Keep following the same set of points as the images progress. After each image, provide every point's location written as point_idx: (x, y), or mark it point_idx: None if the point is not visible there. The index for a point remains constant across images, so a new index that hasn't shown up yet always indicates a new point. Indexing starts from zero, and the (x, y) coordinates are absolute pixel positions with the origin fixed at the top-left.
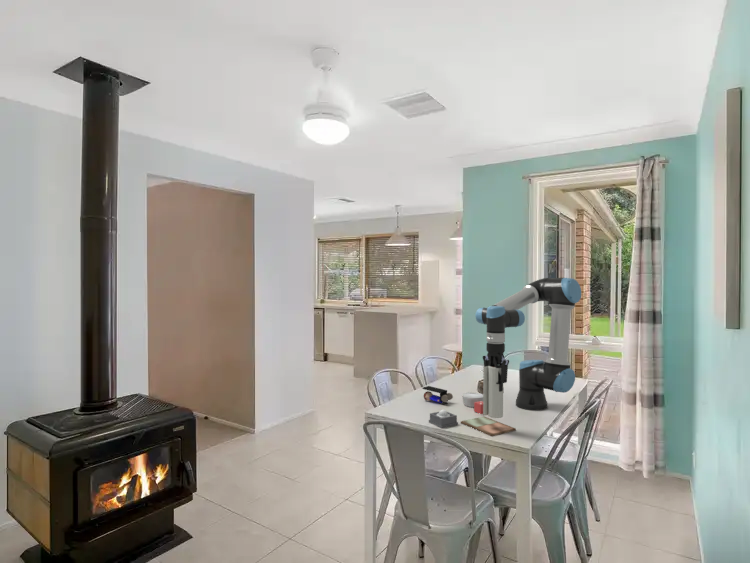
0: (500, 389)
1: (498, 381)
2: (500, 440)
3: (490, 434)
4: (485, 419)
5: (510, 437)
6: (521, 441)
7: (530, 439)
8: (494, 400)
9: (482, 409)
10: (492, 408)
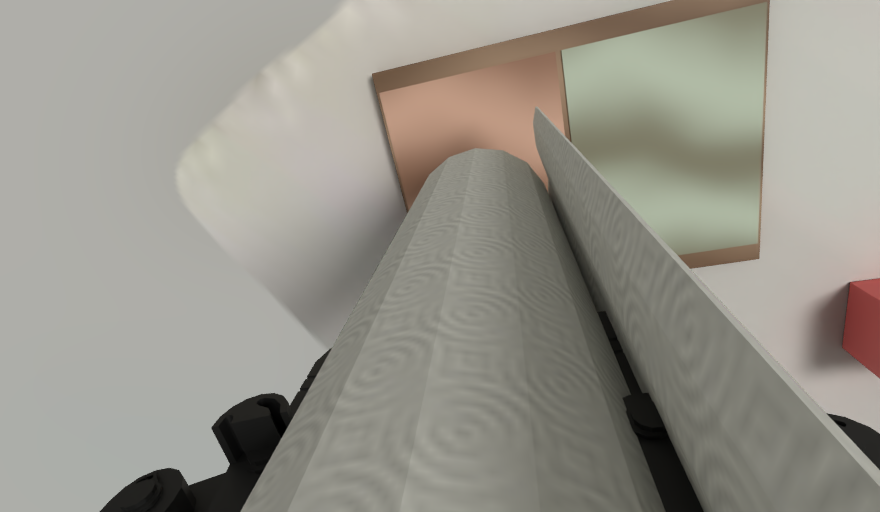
0: (311, 378)
1: (248, 481)
2: (287, 93)
3: (381, 72)
4: (684, 223)
5: (326, 193)
6: (250, 215)
7: (273, 283)
8: (404, 224)
9: (874, 316)
10: (436, 178)
